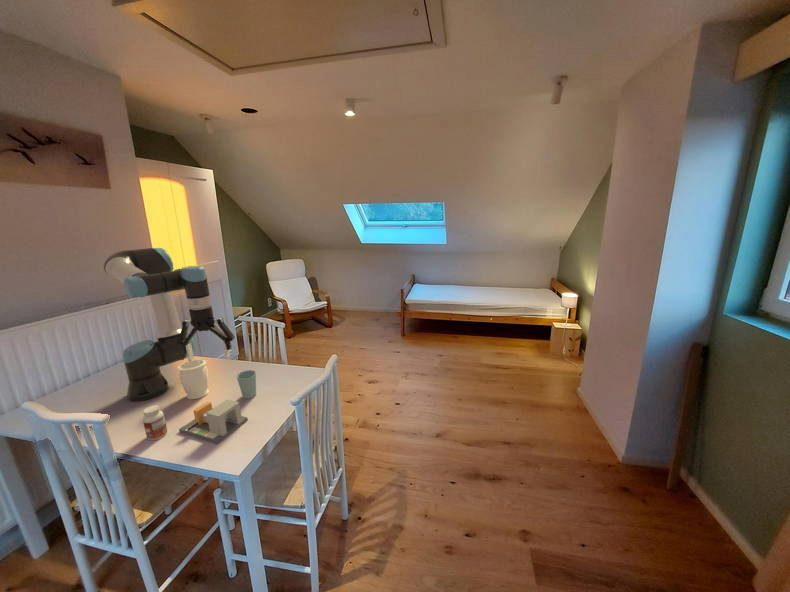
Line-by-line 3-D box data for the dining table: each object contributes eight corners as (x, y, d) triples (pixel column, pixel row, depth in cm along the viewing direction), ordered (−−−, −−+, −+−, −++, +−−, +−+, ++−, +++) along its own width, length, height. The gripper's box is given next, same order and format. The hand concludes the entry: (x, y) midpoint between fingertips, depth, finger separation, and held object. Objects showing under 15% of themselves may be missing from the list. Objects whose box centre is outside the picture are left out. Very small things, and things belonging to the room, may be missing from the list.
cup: (259, 397, 141) (255, 376, 139) (240, 402, 138) (236, 380, 136) (258, 389, 148) (255, 368, 145) (240, 393, 145) (236, 372, 142)
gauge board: (179, 431, 120) (174, 409, 118) (212, 410, 133) (208, 390, 130) (217, 443, 113) (212, 420, 111) (247, 420, 126) (244, 398, 124)
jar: (183, 403, 138) (176, 372, 134) (185, 392, 147) (179, 362, 143) (211, 396, 143) (205, 366, 139) (211, 386, 152) (206, 357, 148)
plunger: (186, 430, 118) (183, 416, 117) (210, 415, 127) (207, 401, 126) (205, 436, 115) (202, 422, 113) (229, 420, 124) (226, 406, 122)
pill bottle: (145, 436, 118) (138, 409, 115) (164, 427, 123) (158, 401, 120) (150, 443, 114) (143, 416, 112) (170, 434, 119) (163, 408, 116)
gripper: (159, 312, 117) (170, 365, 123) (231, 308, 120) (239, 360, 126) (170, 306, 124) (180, 356, 130) (238, 302, 127) (245, 352, 133)
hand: (209, 358), depth 128 cm, fingers open, 13 cm apart
